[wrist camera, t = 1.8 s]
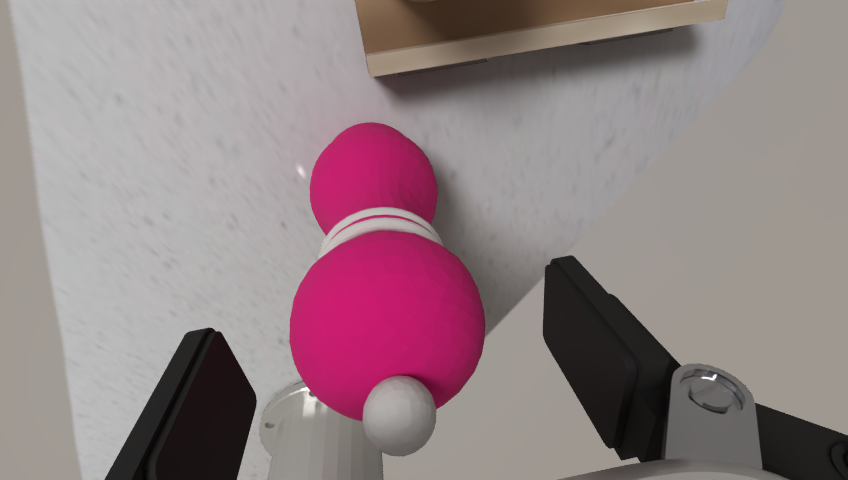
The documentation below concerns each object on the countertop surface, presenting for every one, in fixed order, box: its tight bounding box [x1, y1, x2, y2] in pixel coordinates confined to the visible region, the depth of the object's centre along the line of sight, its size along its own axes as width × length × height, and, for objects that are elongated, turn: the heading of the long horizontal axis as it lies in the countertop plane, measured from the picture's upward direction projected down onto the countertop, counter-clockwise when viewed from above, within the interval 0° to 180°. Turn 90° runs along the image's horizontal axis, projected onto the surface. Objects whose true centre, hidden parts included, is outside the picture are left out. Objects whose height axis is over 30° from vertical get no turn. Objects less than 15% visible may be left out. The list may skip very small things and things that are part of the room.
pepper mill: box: [290, 123, 485, 456], centre depth 17 cm, size 7×7×20 cm
